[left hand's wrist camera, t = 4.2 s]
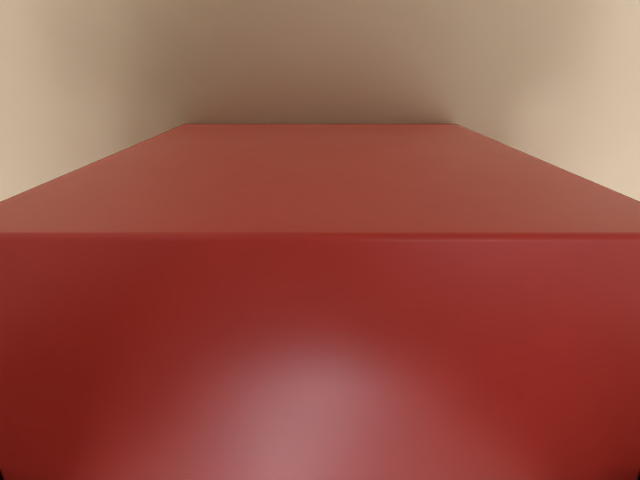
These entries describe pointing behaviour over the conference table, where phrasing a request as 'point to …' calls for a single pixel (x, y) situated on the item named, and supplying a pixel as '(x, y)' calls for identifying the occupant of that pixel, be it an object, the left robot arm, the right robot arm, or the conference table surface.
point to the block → (320, 312)
